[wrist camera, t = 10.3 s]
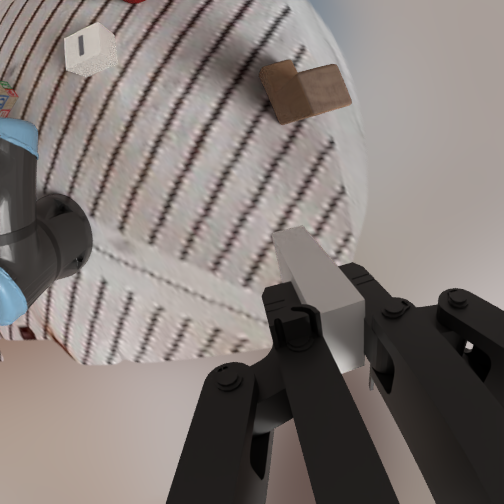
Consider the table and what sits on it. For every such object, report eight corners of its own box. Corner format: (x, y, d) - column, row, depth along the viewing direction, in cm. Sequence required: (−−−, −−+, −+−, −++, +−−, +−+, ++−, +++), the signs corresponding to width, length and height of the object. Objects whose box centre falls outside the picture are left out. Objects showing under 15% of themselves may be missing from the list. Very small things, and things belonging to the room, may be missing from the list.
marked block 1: (86, 77, 34) (65, 70, 28) (83, 48, 32) (63, 37, 25) (118, 64, 34) (100, 53, 28) (114, 34, 32) (97, 20, 25)
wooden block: (257, 74, 37) (275, 33, 20) (284, 65, 37) (318, 23, 20) (280, 125, 40) (313, 116, 24) (306, 116, 40) (354, 104, 23)
